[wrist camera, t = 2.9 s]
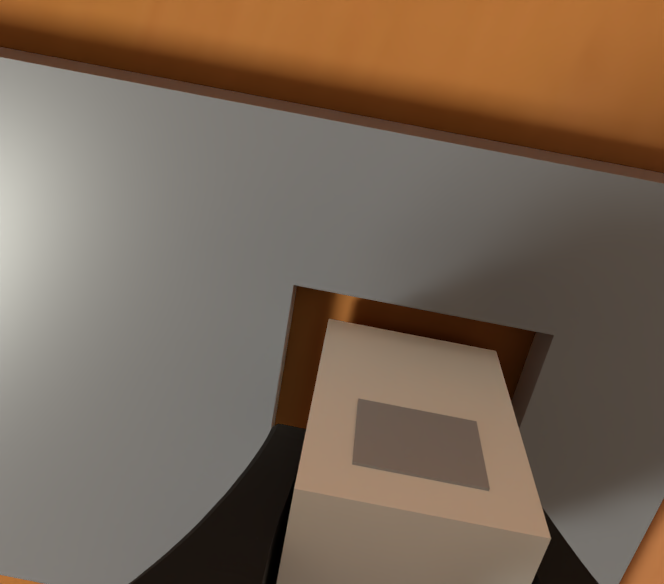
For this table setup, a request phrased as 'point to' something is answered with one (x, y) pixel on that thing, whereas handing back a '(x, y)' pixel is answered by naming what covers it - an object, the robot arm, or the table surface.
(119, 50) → the table surface
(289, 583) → the plug
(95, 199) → the jack panel
